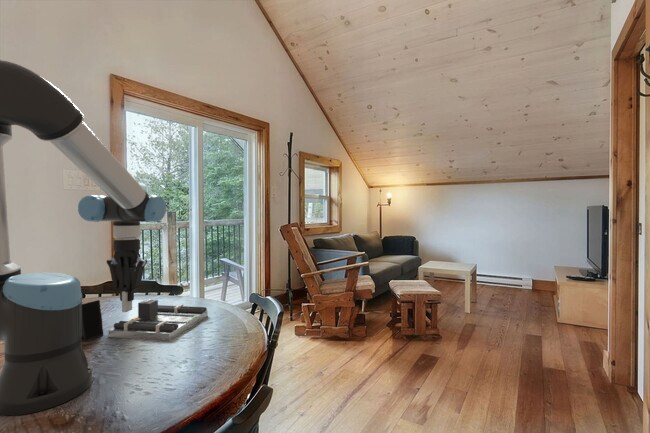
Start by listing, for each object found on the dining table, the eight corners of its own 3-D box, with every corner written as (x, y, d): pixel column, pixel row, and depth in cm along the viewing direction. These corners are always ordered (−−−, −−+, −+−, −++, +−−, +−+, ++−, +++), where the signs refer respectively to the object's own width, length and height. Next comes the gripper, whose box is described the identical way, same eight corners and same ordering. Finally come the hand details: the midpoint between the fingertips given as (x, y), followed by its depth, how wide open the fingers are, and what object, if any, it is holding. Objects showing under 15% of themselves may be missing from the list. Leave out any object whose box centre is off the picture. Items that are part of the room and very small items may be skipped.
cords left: (172, 332, 93) (172, 326, 93) (112, 329, 95) (112, 322, 95) (180, 327, 97) (180, 321, 97) (122, 324, 99) (122, 318, 99)
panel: (169, 340, 92) (169, 332, 92) (108, 337, 94) (108, 329, 94) (207, 316, 114) (207, 309, 114) (157, 313, 116) (157, 307, 116)
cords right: (202, 314, 110) (202, 308, 110) (151, 311, 112) (151, 306, 112) (208, 310, 114) (208, 305, 114) (158, 308, 116) (158, 303, 116)
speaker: (108, 335, 95) (104, 299, 96) (84, 342, 91) (80, 304, 91) (99, 331, 100) (96, 297, 100) (76, 338, 96) (73, 302, 96)
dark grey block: (149, 319, 104) (149, 302, 104) (138, 318, 104) (138, 301, 104) (157, 315, 108) (157, 298, 108) (146, 314, 108) (146, 298, 108)
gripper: (152, 238, 109) (153, 308, 110) (117, 237, 111) (117, 306, 111) (137, 239, 102) (137, 315, 102) (99, 239, 104) (99, 313, 104)
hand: (127, 310), depth 107 cm, fingers closed
